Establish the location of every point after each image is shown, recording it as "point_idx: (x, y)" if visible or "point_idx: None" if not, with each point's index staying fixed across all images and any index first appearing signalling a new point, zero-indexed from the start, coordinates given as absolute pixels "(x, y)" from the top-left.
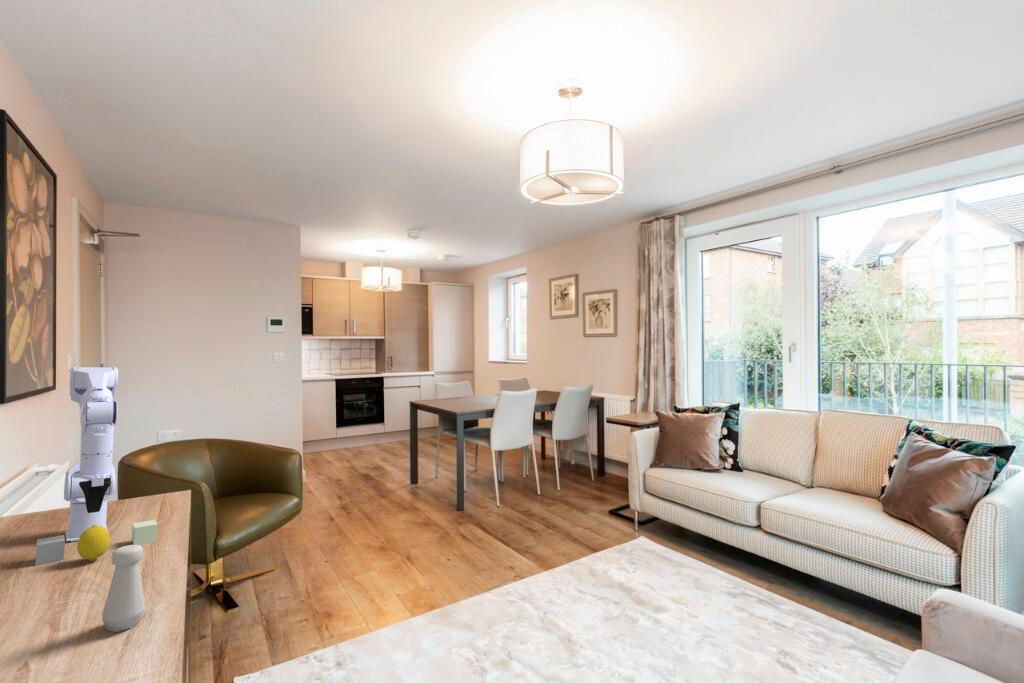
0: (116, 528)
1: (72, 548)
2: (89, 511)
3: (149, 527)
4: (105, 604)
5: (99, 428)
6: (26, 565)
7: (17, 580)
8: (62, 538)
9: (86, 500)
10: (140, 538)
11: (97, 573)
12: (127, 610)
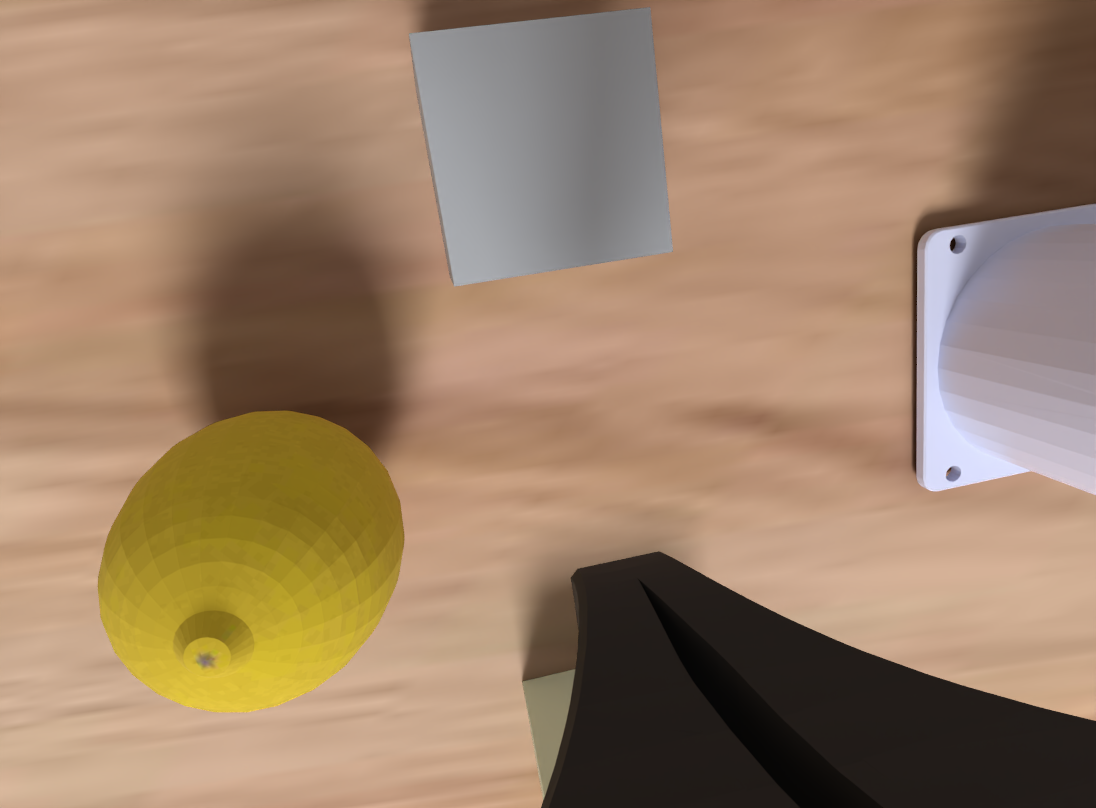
0: (1061, 508)
1: (739, 293)
2: (575, 600)
3: None
4: None
5: None
6: (468, 20)
7: (57, 8)
8: (542, 255)
9: (572, 705)
10: (535, 753)
11: None
12: None
